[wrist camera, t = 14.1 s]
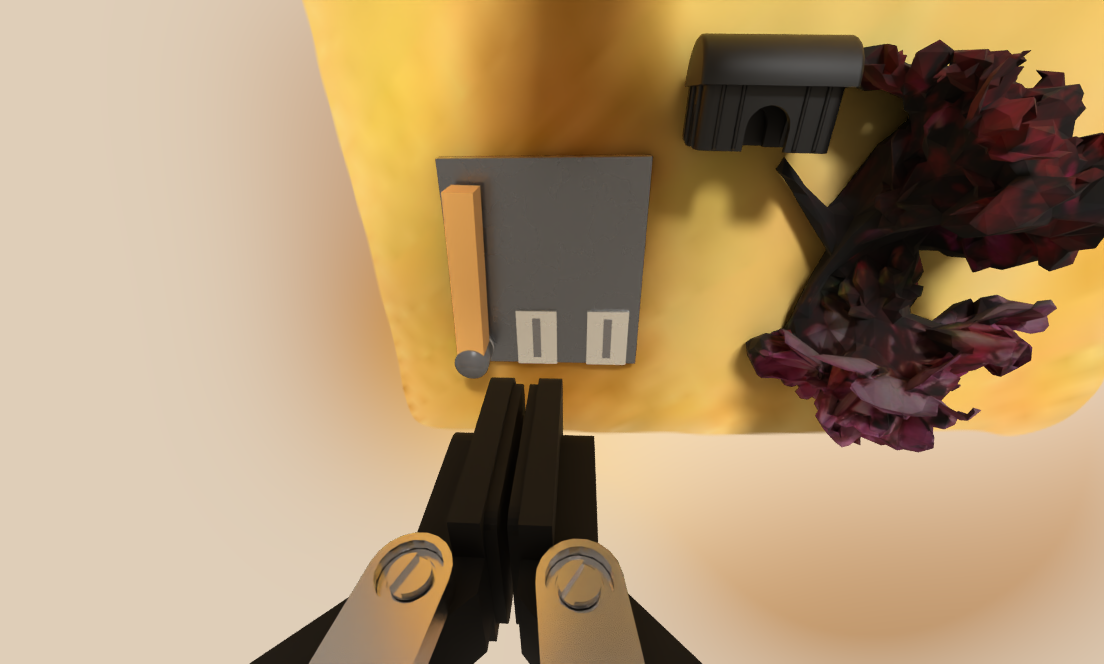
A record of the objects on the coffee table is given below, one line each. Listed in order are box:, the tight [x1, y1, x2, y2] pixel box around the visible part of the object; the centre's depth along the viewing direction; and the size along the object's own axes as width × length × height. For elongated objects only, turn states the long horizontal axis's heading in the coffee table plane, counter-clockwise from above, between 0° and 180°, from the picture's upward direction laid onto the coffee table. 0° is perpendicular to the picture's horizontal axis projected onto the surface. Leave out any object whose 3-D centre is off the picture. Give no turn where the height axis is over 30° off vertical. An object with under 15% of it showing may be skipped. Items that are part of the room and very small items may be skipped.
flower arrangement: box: [746, 40, 1104, 452], centre depth 34 cm, size 31×20×15 cm, turn 1°
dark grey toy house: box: [683, 34, 865, 154], centre depth 32 cm, size 10×7×7 cm
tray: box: [435, 155, 653, 365], centre depth 42 cm, size 20×18×2 cm
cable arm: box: [441, 185, 493, 378], centre depth 41 cm, size 18×3×3 cm, turn 179°
